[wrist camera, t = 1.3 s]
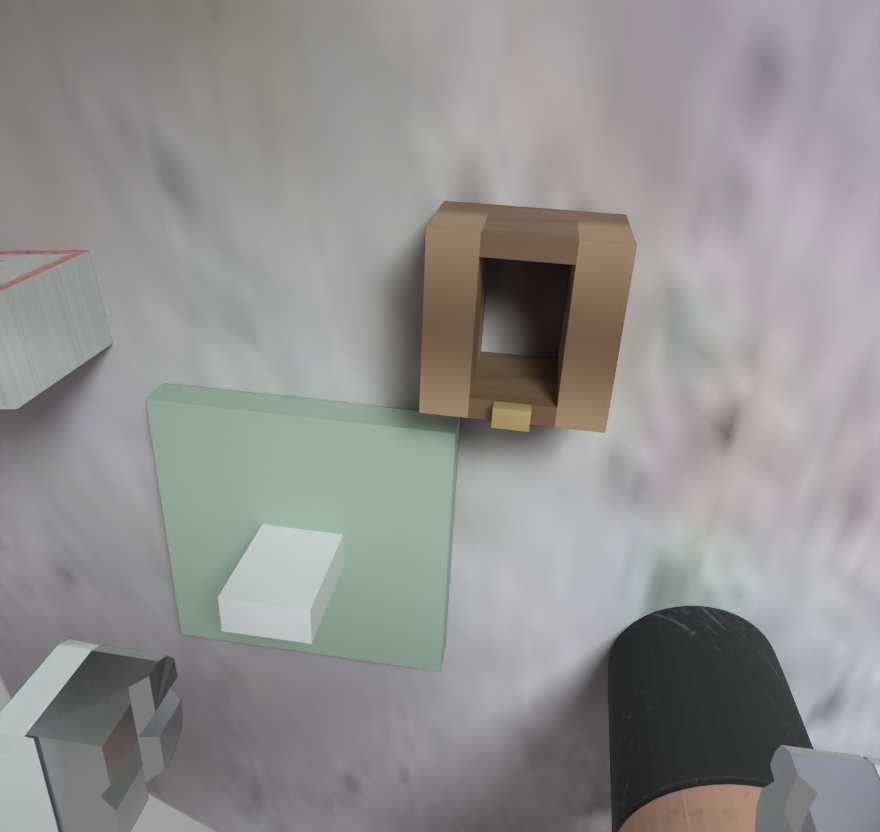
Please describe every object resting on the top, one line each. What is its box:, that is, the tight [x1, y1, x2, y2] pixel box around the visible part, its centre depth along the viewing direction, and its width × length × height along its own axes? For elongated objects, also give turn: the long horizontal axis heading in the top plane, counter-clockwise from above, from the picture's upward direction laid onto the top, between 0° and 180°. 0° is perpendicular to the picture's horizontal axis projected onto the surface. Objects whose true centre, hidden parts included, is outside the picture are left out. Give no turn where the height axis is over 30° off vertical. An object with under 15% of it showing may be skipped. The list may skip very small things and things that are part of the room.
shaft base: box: [146, 383, 460, 672], centre depth 29 cm, size 12×12×6 cm
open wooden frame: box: [419, 201, 637, 433], centre depth 24 cm, size 6×6×4 cm
